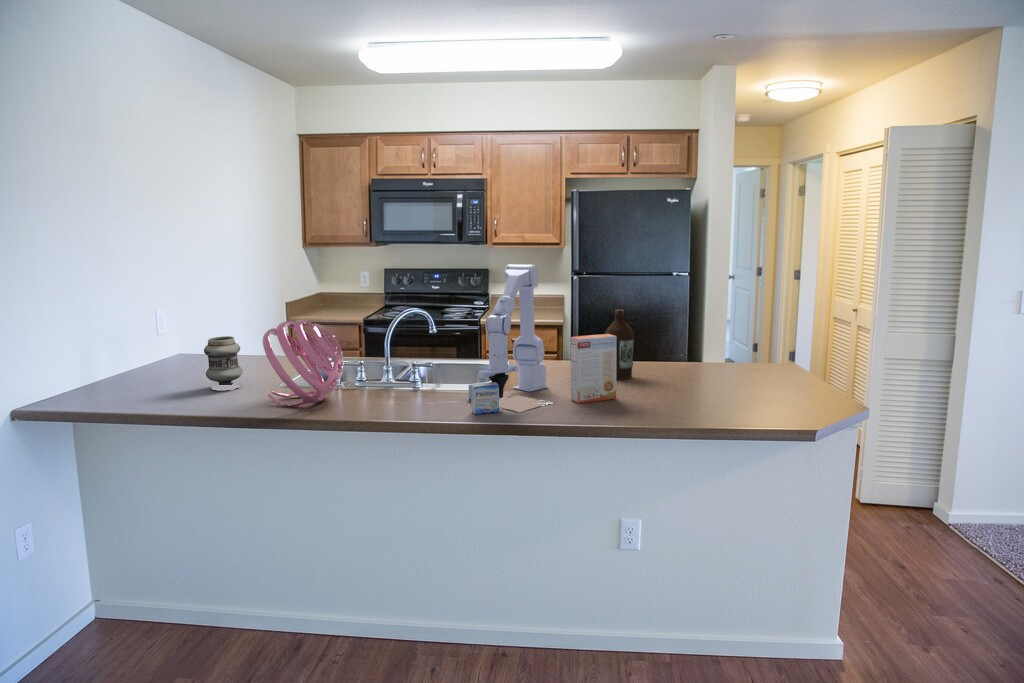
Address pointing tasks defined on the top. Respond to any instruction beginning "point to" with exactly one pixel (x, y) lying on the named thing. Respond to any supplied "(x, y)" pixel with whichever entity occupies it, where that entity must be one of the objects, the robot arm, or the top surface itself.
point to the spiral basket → (306, 360)
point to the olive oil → (622, 345)
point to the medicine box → (485, 397)
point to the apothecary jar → (223, 360)
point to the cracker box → (593, 368)
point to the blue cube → (470, 390)
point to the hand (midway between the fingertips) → (498, 397)
